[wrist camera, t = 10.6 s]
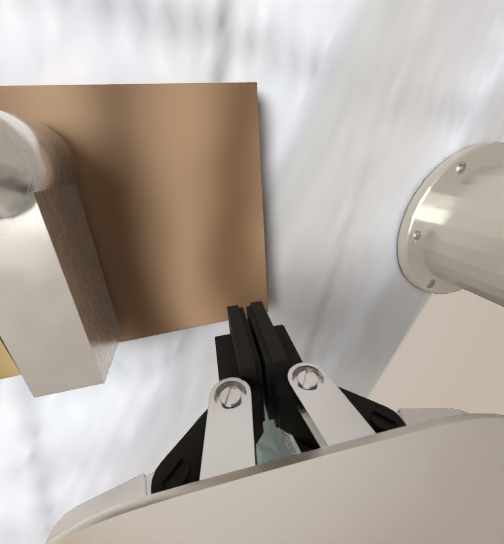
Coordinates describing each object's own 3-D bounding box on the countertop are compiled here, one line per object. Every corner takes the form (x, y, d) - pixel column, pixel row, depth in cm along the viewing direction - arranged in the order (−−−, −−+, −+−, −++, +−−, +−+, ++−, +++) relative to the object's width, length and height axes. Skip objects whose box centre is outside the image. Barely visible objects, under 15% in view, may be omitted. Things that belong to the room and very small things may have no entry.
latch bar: (-36, 116, 10) (-213, 80, 6) (63, 116, 11) (-23, 84, 6) (62, 343, 15) (10, 425, 11) (126, 332, 16) (103, 404, 11)
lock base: (249, 89, 14) (290, 47, 9) (262, 301, 20) (291, 352, 15) (-87, 96, 11) (-329, 37, 6) (43, 344, 17) (-19, 428, 12)
